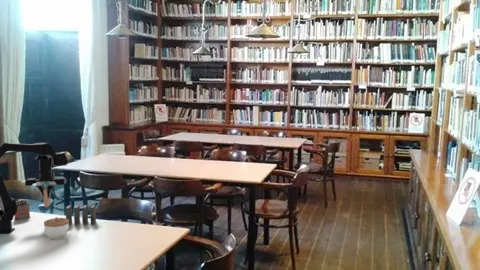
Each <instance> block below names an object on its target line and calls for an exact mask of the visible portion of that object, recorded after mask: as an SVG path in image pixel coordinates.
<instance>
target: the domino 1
mask: <svg viewBox="0 0 480 270" xmlns="http://www.w3.org/2000/svg"><path fill="white" fill-rule="evenodd" d="M43 201H44V202H43V206H44V207H43V208H48V207H49V206H50V205H51V197H50V198H48V186H45V189H44V197H43Z"/></svg>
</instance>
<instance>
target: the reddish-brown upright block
mask: <svg viewBox="0 0 480 270" xmlns="http://www.w3.org/2000/svg"><path fill="white" fill-rule="evenodd" d="M16 204H17V206H18V207H17V213H16V214H15V215H14V217H13V220H14V221H21V220H26V219H29V218H31V214H30V213H31V212H30V211H31V210H30V205H31V204H30V203H29V202H28V199H20V200H17V201H16Z"/></svg>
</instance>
